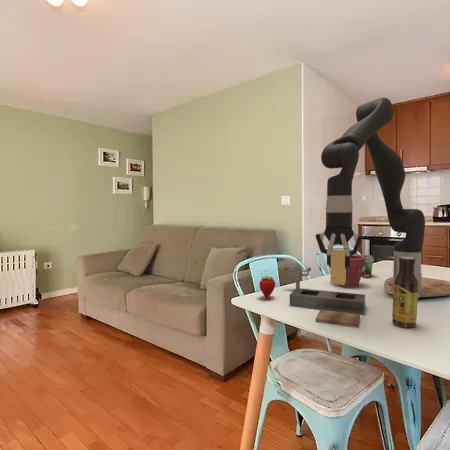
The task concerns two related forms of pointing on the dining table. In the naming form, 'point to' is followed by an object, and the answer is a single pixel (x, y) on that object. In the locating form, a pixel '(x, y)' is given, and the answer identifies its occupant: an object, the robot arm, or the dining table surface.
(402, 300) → the sauce bottle
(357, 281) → the plant pot
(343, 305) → the grey slotted block
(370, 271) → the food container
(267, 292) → the strawberry
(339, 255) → the brass peg
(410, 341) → the dining table surface
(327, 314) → the walnut board
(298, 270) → the mechanical component
